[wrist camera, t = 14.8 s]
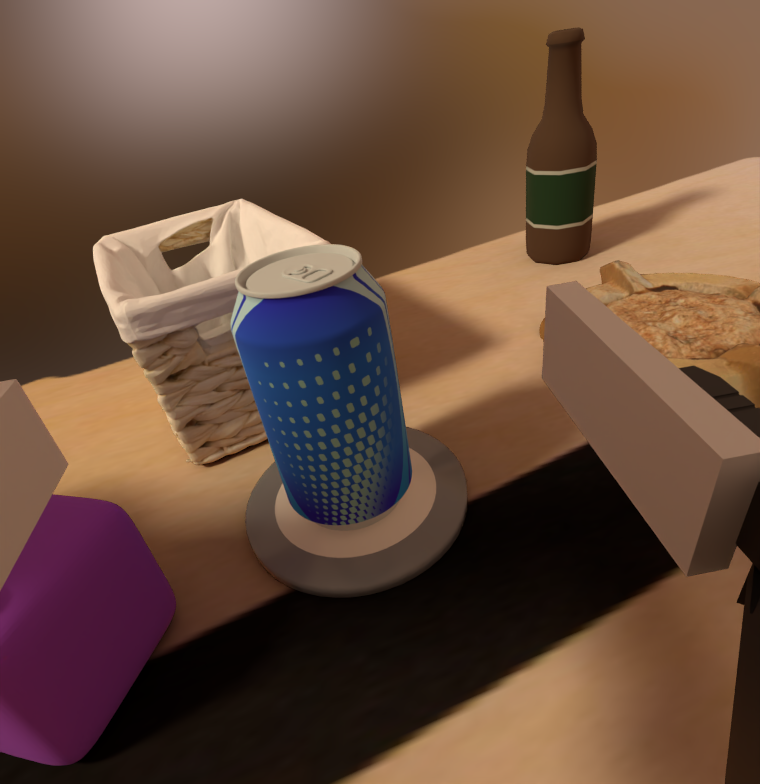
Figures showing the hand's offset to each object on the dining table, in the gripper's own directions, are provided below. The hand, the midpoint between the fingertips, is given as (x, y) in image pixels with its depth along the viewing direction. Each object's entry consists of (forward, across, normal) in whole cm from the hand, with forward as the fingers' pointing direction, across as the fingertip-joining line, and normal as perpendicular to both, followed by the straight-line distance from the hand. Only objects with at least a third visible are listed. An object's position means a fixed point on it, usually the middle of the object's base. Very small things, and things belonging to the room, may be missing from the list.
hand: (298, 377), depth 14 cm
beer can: (+15, 0, -19) cm, 24 cm away
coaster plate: (+15, 0, -20) cm, 24 cm away
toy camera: (+7, -18, -20) cm, 28 cm away
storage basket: (+34, -10, -20) cm, 41 cm away
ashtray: (+26, +30, -20) cm, 45 cm away
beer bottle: (+51, +30, -20) cm, 62 cm away
